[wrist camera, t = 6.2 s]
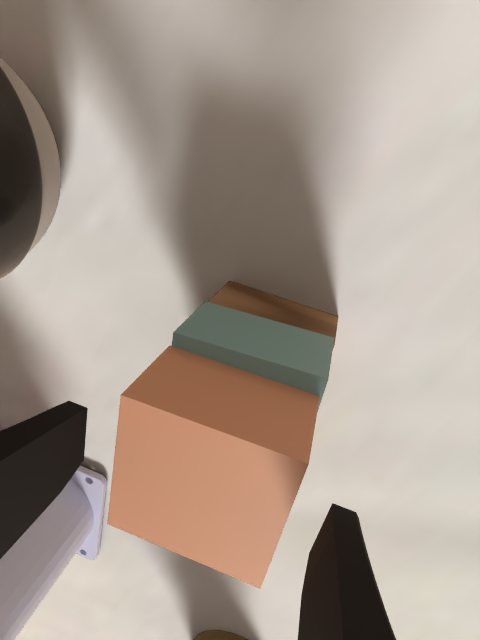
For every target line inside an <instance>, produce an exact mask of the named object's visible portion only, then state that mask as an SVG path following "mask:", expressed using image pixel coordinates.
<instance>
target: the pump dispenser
mask: <svg viewBox="0 0 480 640" xmlns="http://www.w3.org/2000/svg"><path fill="white" fill-rule="evenodd" d="M60 186H61V170H60V161H59V154H58V150H57V145H56V142H55V138H54V135H53V133H52V130H51V127H50V125H49V122H48V120H47V118H46V116H45V114H44V112H43V110H42V108H41V106H40V105H39V103H38V101H37V100H36V98H35V97H34V95H33V94H32V92H31V91H30V89H29V88H28V87H27V85H26V84H25V83H24V82H23V80H22V79H21V78H20V77H19V76H18V75H17V74H16V72H15V71H14V70H13V69H12V68H11V67H10V66H9V65H8V64H7V63H6V62H5V61H3V60H2V59H1V58H0V279H1V278H3V277H4V276H6V275H7V274H9V273H10V272H11V271H13V270H14V269H15V268H16V267H17V266H18V265H19V264H20V263H21V261H22V260H23V259H24V258H25V256H26V255H27V253H28V252H29V251H30V250H31V249H32V248H33V247H34V246H35V245H36V244H37V243H38V242H39V241H40V239H41V238H42V237H43V235H44V234H45V232H46V231H47V229H48V227H49V225H50V224H51V222H52V219H53V217H54V214H55V211H56V208H57V205H58V200H59V195H60Z"/></svg>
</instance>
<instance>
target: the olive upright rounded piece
mask: <svg viewBox="0 0 480 640" xmlns="http://www.w3.org/2000/svg"><path fill="white" fill-rule="evenodd" d="M194 640H247V639H245V638H242V637H240V636H238V635H235V634H233V633H229V632H224V631H206V632H203V633H200V634H199V635H198V636H197V637H196V638H195V639H194Z"/></svg>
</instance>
